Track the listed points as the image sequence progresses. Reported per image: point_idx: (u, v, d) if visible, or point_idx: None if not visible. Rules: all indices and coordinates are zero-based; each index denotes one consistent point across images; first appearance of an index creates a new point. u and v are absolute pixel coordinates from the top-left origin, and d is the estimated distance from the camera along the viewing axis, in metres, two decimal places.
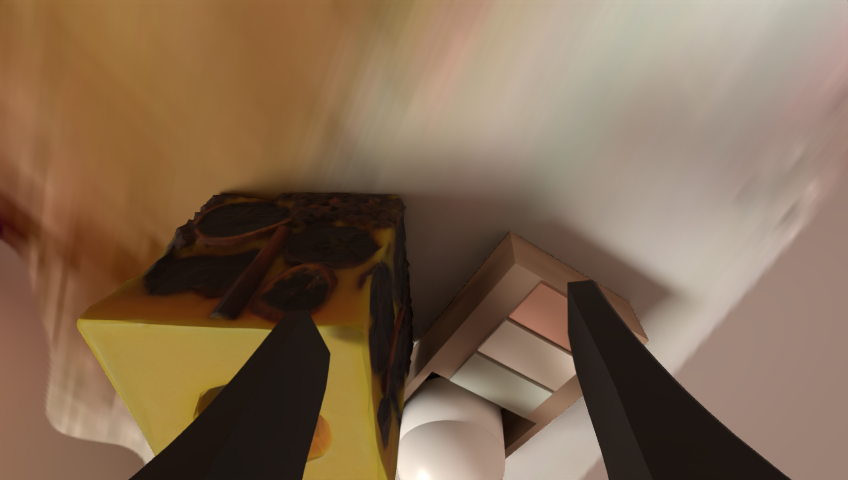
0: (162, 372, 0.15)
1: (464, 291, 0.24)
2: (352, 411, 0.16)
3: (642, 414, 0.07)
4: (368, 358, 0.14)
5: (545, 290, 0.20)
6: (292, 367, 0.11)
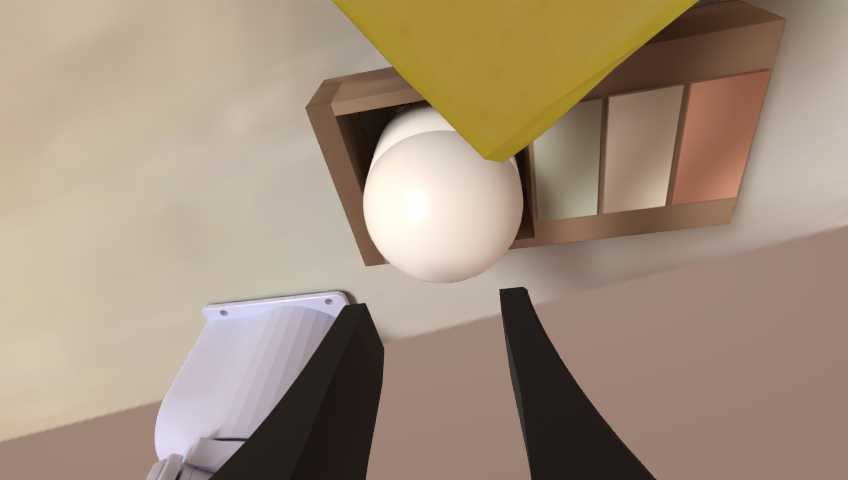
0: None
1: None
2: None
3: (539, 419, 0.08)
4: None
5: (761, 84, 0.15)
6: (356, 362, 0.11)
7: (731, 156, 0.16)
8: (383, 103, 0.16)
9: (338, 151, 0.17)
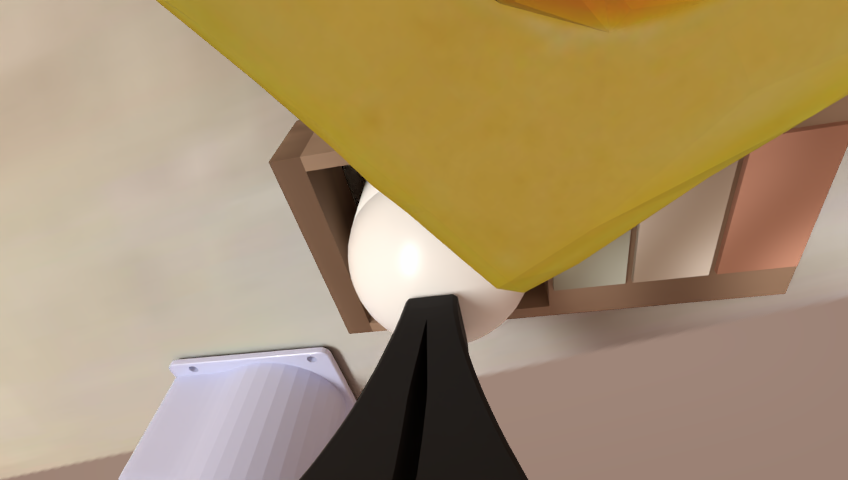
0: None
1: None
2: None
3: (437, 425, 0.08)
4: None
5: (842, 139, 0.12)
6: None
7: (795, 221, 0.13)
8: None
9: (312, 211, 0.14)
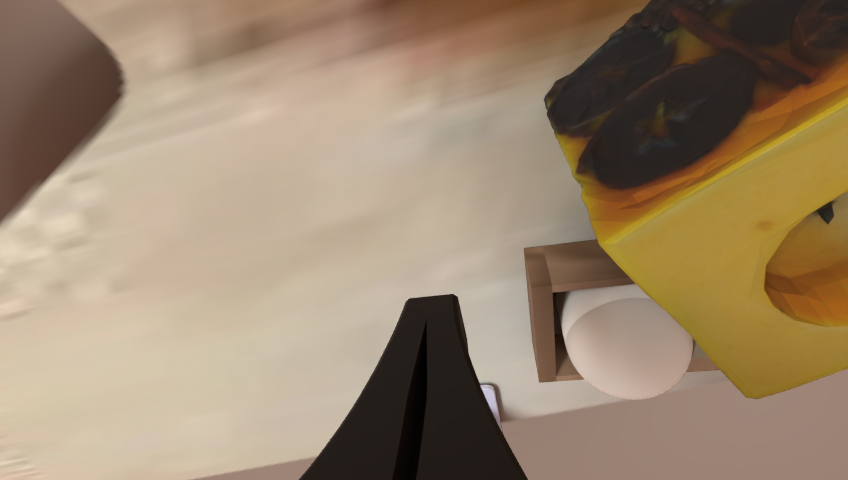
0: None
1: None
2: None
3: (437, 425, 0.08)
4: None
5: None
6: None
7: None
8: (593, 286, 0.21)
9: (546, 312, 0.23)
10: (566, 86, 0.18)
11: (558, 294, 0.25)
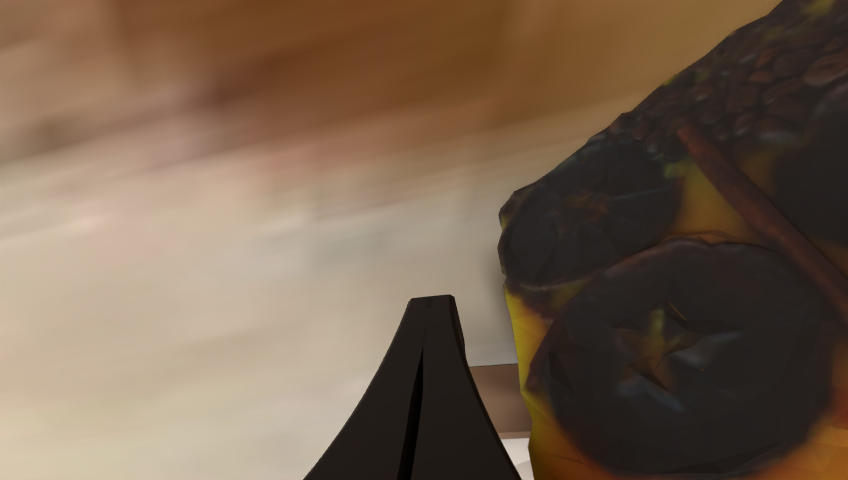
0: None
1: None
2: None
3: (432, 425, 0.08)
4: None
5: None
6: None
7: None
8: (524, 436, 0.17)
9: None
10: (527, 203, 0.13)
11: None
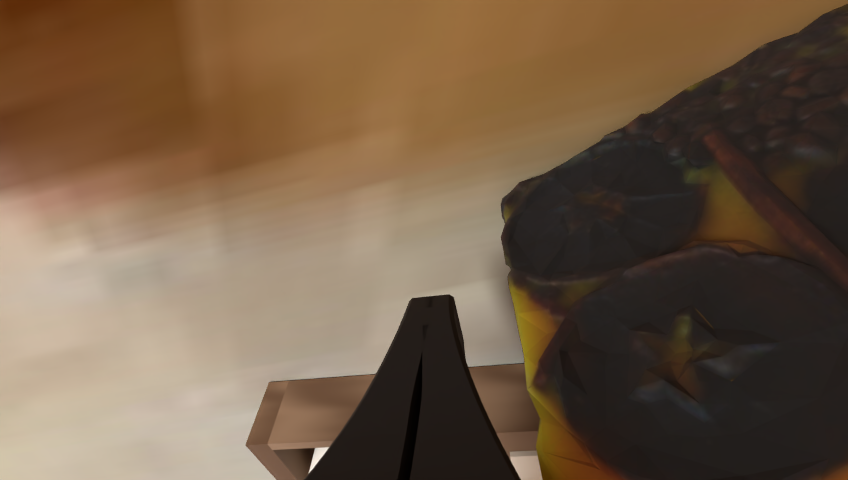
0: None
1: (524, 371, 0.19)
2: None
3: (431, 425, 0.08)
4: None
5: None
6: None
7: None
8: (313, 446, 0.18)
9: (278, 465, 0.20)
10: (533, 195, 0.12)
11: None
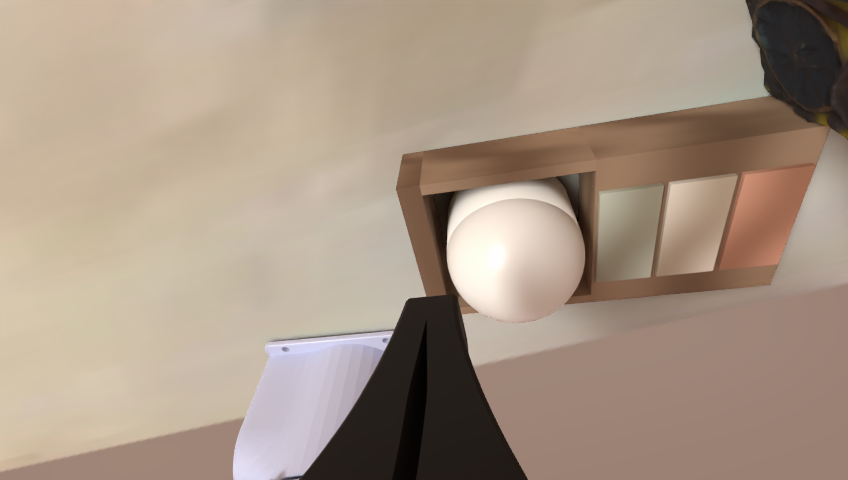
0: None
1: (676, 115, 0.18)
2: None
3: (437, 425, 0.08)
4: None
5: (806, 176, 0.17)
6: None
7: (776, 232, 0.18)
8: (467, 186, 0.18)
9: (420, 223, 0.19)
10: None
11: (448, 212, 0.22)
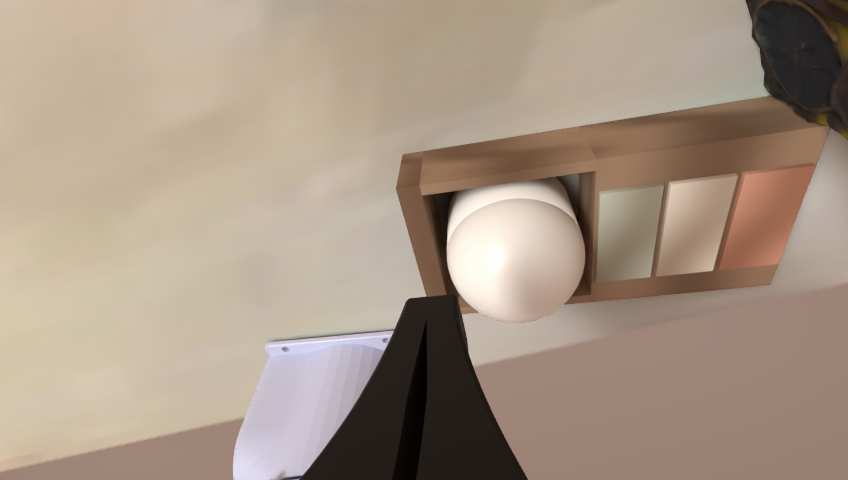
0: None
1: (676, 115, 0.18)
2: None
3: (437, 425, 0.08)
4: None
5: (806, 176, 0.17)
6: None
7: (776, 232, 0.18)
8: (467, 186, 0.18)
9: (420, 223, 0.19)
10: None
11: (448, 212, 0.22)
